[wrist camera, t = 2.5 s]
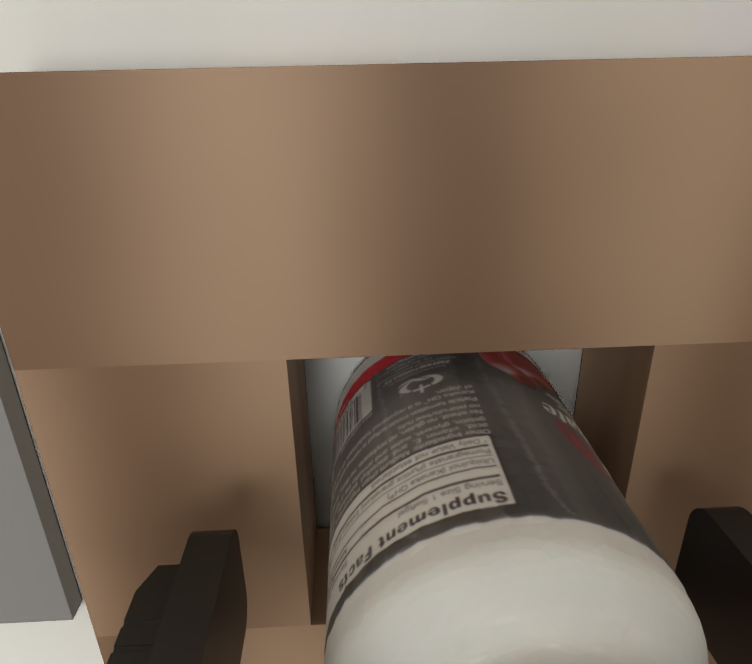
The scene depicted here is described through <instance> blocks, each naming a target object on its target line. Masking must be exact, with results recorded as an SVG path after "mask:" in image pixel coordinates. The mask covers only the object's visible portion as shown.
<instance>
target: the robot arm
mask: <svg viewBox="0 0 752 664" xmlns="http://www.w3.org/2000/svg"><path fill="white" fill-rule="evenodd" d="M675 573H676V575H677V577H678V578H679V580H680V581H681V583H682V585H683V586H684V588H685V591H686V593H687V595H688V597H689V599H690V600H691V602H692V604H693V606H694V608H695V610H696V613H697V615H698V617H699V619H700V622H701V625H702V628H703V632H704V635H705V639H706V644H707V648H708V650H709V652H710V653H711V655H712V656H713V658H714V659H715V661H716V663H717V664H752V514H751V513H750V512H749V511H747V510H746V509H745V508H742V507H739V506H731V507H711V508H696V509H694V510H693V511H692V512H691V513H690V515H689V518H688V522H687V526H686V530H685V534H684V538H683V541H682V545H681V549H680V553H679V557H678V561H677V565H676V569H675ZM246 624H247V592H246V585H245V578H244V571H243V564H242V556H241V549H240V542H239V536H238V532H237V530H236V529H231V530H210V531H193V532H191V534H190V535H189V538H188V540H187V543H186V546H185V549H184V552H183V555H182V559H181V562H180V564H175V565H158V566H157V567H156V568H155V569H154V571H153V572H152V573H151V574H150V575H149V576H148V577H147V579H146V580H145V581H144V582H143V583H142V584H141V585H140V587H139V588H138V589H137V590H136V591H135V594H134V596H133V599H132V601H131V604H130V606H129V609H128V611H127V614H126V616H125V619H124V625H123V627H121V629H120V631H119V634H118V636H117V639H116V641H115V644H114V650H113V653H111V654H110V657H109V659H108V662H107V664H240V662H241V656H242V650H243V645H244V639H245V633H246Z"/></svg>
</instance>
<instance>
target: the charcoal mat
mask: <svg viewBox="0 0 752 664" xmlns="http://www.w3.org/2000/svg"><path fill="white" fill-rule="evenodd" d="M81 602H82V600H81V597H80V593H79V590H78V587H77V584H76V581H75V577H74V574H73V571H72V568H71V564H70V561H69V558H68V555H67V552H66V548H65V545H64V542H63V539H62V536H61V532H60V529H59V526H58V523H57V519H56V516H55V513H54V510H53V507H52V503H51V500H50V497H49V494H48V491H47V487H46V484H45V481H44V478H43V474H42V471H41V468H40V465H39V462H38V458H37V455H36V452H35V449H34V446H33V442H32V439H31V436H30V433H29V429H28V426H27V423H26V420H25V417H24V413H23V410H22V407H21V404H20V401H19V397H18V394H17V391H16V388H15V384H14V381H13V378H12V375H11V372H10V368H9V365H8V362H7V359H6V356H5V352H4V349H3V346H2V343H1V339H0V623H19V622H38V621H56V620H73V618H74V616H75V614H76V612H77V610H78V608H79V606H80V604H81Z"/></svg>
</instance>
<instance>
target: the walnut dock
mask: <svg viewBox="0 0 752 664" xmlns="http://www.w3.org/2000/svg"><path fill="white" fill-rule="evenodd" d="M0 327H1V330H2V333H3V336H4V340H5V343H6V346H7V349H8V353H9V356H10V359H11V362H12V366H13V369H14V372H15V375H16V379H17V382H18V385H19V388H20V392H21V395H22V398H23V401H24V405H25V408H26V411H27V414H28V418H29V421H30V424H31V427H32V431H33V434H34V437H35V440H36V444H37V447H38V450H39V453H40V457H41V460H42V463H43V466H44V470H45V473H46V476H47V479H48V483H49V486H50V489H51V492H52V496H53V499H54V502H55V505H56V508H57V512H58V515H59V518H60V521H61V525H62V528H63V531H64V534H65V538H66V541H67V544H68V547H69V551H70V554H71V557H72V560H73V564H74V567H75V570H76V573H77V577H78V580H79V583H80V586H81V590H82V593H83V596H84V599H85V603H86V606H87V609H88V612H89V616H90V619H91V622H92V625H93V629H94V632H95V635H96V638H97V642H98V645H99V648H100V651H101V655H102V658H103V661H104V664H107V662H108V659H109V657H110V654H111V653H113V650H114V644H115V641H116V639H117V636H118V634H119V631H120V629H121V627H123V625H124V619H125V616H126V614H127V611H128V609H129V606H130V604H131V601H132V599H133V596H134V594H135V591H136V590H137V589H138V588H139V587H140V585H141V584H142V583H143V582H144V581H145V580H146V579H147V577H148V576H149V575H150V574H151V573H152V572H153V571H154V569H155V568H156V567H157V566H158V565H175V564H180V562H181V559H182V555H183V552H184V549H185V546H186V543H187V540H188V538H189V535H190V534H191V532H193V531H210V530H231V529H236V530H237V532H238V536H239V542H240V549H241V556H242V564H243V571H244V578H245V585H246V592H247V624H246V633H245V639H244V645H243V650H242V656H241V662H240V664H324V663H325V661H324V650H325V640H326V611H327V595H328V564H329V540H330V528H322V529H317V522H316V509H315V497H314V484H313V471H312V459H311V446H310V434H309V421H308V408H307V396H306V383H305V371H304V359H320V358H345V357H371V356H397V355H422V354H448V353H474V352H499V351H525V350H551V349H576V348H583V354H582V362H581V369H580V376H579V383H578V391H577V398H576V405H575V413H574V420H575V422H576V424H577V425H578V427H579V429H580V430H581V432H582V433H583V435H584V436H585V438H586V439H587V441H588V442H589V444H590V445H591V447H592V448H593V450H594V452H595V453H596V455H597V456H598V457H599V459H600V460H601V462H602V463H603V465H604V466H605V468H606V469H607V471H608V472H609V474H610V475H611V477H612V479H613V481H614V482H615V484H616V486H617V487H618V488H619V490H620V492H621V493H622V495H623V497H624V498H625V500H626V502H627V503H628V505H629V506H630V508H631V509H632V511H633V512H634V513H635V515H636V516H637V518H638V519H639V521H640V522H641V524H642V525H643V527H644V528H645V529H646V531H647V532H648V533H649V535H650V536H651V538H652V540H653V541H654V543H655V545H656V546H657V548H658V550H659V551H660V552H661V554H662V555H663V556H664V557H665V559H666V560H667V561H668V562H669V564H670V565H671V567H672V569H673V570H674V572H675V569H676V565H677V561H678V557H679V553H680V549H681V545H682V541H683V538H684V534H685V530H686V526H687V522H688V518H689V515H690V513H691V512H692V511H693V510H694V509H696V508H711V507H731V506H739V507H742V508H745V509H746V510H747V511H749V512H750V513H751V514H752V56H726V57H681V58H636V59H591V60H546V61H501V62H456V63H411V64H367V65H322V66H277V67H232V68H187V69H142V70H97V71H52V72H7V73H0ZM707 651H708V661H709V664H717V663H716V661H715V659H714V658H713V656H712V655H711V653H710V652H709V650H708V648H707Z"/></svg>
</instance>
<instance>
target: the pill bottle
mask: <svg viewBox="0 0 752 664" xmlns="http://www.w3.org/2000/svg"><path fill="white" fill-rule="evenodd" d="M324 661H325V663H324V664H709V661H708V651H707V644H706V639H705V635H704V632H703V628H702V625H701V622H700V619H699V617H698V615H697V613H696V610H695V608H694V606H693V604H692V602H691V600H690V599H689V597H688V595H687V593H686V591H685V588H684V586H683V585H682V583H681V581H680V580H679V578H678V577H677V575H676V573H675V572H674V570H673V569H672V567H671V565H670V564H669V562H668V561H667V560H666V559H665V557H664V556H663V555H662V554H661V552H660V551H659V550H658V548H657V546H656V545H655V543H654V541H653V540H652V538H651V536H650V535H649V533H648V532H647V531H646V529H645V528H644V527H643V525H642V524H641V522H640V521H639V519H638V518H637V516H636V515H635V513H634V512H633V511H632V509H631V508H630V506H629V505H628V503H627V502H626V500H625V498H624V497H623V495H622V493H621V492H620V490H619V488H618V487H617V486H616V484H615V482H614V481H613V479H612V477H611V475H610V474H609V472H608V471H607V469H606V468H605V466H604V465H603V463H602V462H601V460H600V459H599V457H598V456H597V455H596V453H595V452H594V450H593V448H592V447H591V445H590V444H589V442H588V441H587V439H586V438H585V436H584V435H583V433H582V432H581V430H580V429H579V427H578V425H577V424H576V422H575V420H574V419H573V417H572V416H571V414H570V413H569V411H568V410H567V408H566V407H565V406H564V404H563V403H562V401H561V400H560V398H559V396H558V394H557V393H556V391H555V390H554V389H553V387H552V386H551V384H550V383H549V382H548V380H547V379H546V377H545V376H544V374H543V373H542V372H541V370H540V369H539V367H538V366H537V365H536V364H535V362H534V361H533V360H532V359H531V358H530V357H529V356H528V355H527V354H526V353H525V352H523V351H499V352H474V353H448V354H422V355H397V356H371V357H369V358H368V359H366V360H365V361H364V362H363V363H362V364H361V365H360V366H359V367H358V369H357V370H356V371H355V372H354V373H353V375H352V376H351V378H350V379H349V381H348V383H347V385H346V387H345V389H344V391H343V393H342V395H341V398H340V400H339V403H338V408H337V413H336V420H335V432H334V445H333V460H332V480H331V508H330V540H329V564H328V595H327V611H326V640H325V650H324Z"/></svg>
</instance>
